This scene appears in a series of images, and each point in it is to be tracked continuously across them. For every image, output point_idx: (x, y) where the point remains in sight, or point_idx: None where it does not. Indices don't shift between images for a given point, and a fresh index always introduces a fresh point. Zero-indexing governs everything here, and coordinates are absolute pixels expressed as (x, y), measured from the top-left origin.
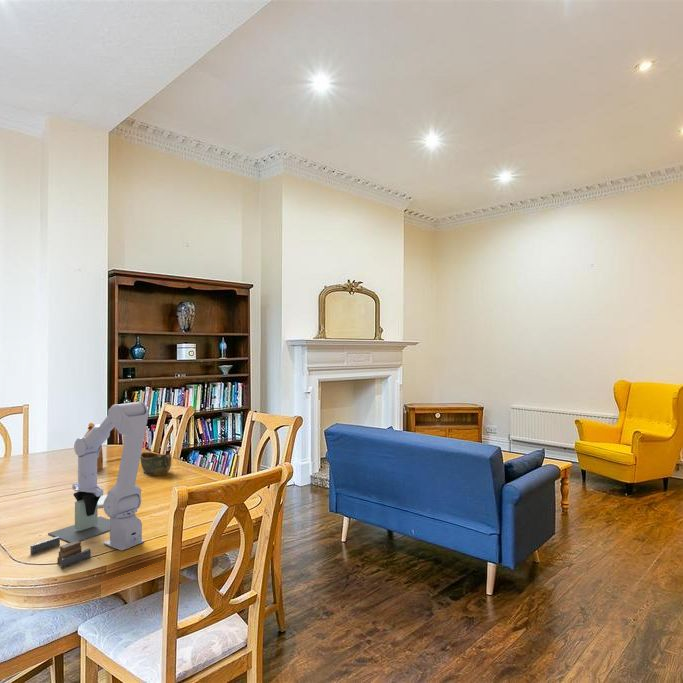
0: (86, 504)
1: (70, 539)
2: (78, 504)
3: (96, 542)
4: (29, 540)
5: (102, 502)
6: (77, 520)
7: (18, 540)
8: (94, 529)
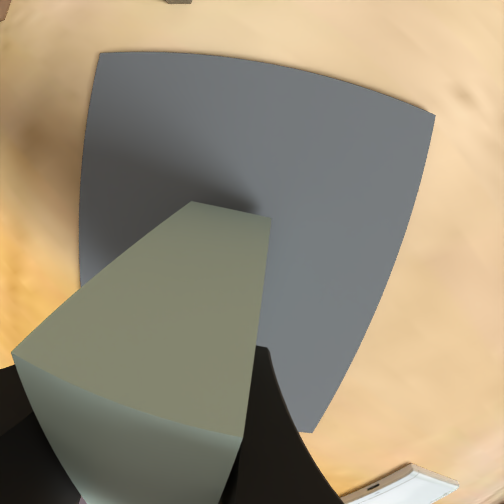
0: (17, 378)
1: (156, 77)
2: (80, 354)
3: (20, 151)
4: (444, 9)
5: (401, 489)
6: (212, 235)
7: (491, 10)
8: None
